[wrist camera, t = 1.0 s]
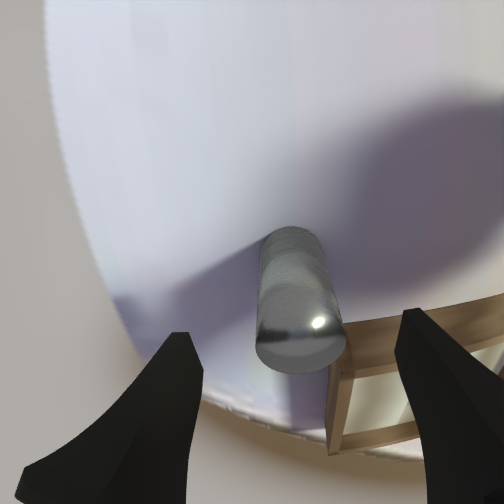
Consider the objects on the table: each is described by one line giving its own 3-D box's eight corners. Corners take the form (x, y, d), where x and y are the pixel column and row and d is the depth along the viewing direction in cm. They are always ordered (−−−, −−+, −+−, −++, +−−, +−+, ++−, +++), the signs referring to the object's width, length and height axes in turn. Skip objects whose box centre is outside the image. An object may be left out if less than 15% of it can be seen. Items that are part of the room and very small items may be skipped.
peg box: (526, 287, 15) (550, 316, 12) (478, 385, 21) (490, 412, 18) (330, 325, 17) (340, 371, 14) (324, 421, 23) (328, 455, 20)
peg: (320, 223, 14) (349, 307, 9) (322, 276, 15) (342, 369, 10) (256, 230, 14) (249, 317, 9) (263, 282, 16) (261, 376, 10)
